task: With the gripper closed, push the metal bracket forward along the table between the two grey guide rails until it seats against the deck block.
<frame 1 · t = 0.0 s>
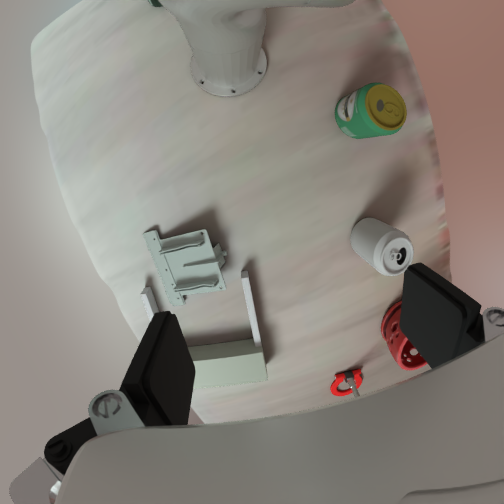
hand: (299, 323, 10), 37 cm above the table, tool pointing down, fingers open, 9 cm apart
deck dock: (204, 318, 52), on the table
can: (366, 235, 48), on the table
tow hook: (345, 381, 60), on the table
metal bracket: (189, 260, 49), on the table
plant pot: (398, 316, 55), on the table
beverage can: (353, 117, 41), on the table
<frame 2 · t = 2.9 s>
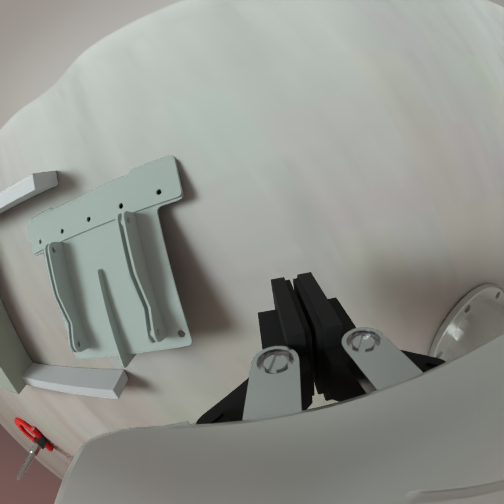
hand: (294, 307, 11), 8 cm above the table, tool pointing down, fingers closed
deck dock: (29, 295, 20), on the table
tow hook: (32, 431, 30), on the table
metal bracket: (116, 265, 20), on the table
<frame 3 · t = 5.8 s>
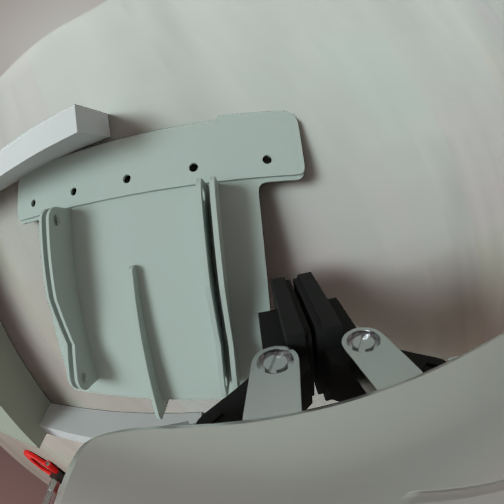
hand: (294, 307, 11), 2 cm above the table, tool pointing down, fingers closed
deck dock: (46, 319, 13), on the table
tow hook: (46, 463, 23), on the table
metal bracket: (152, 259, 13), on the table, touching gripper
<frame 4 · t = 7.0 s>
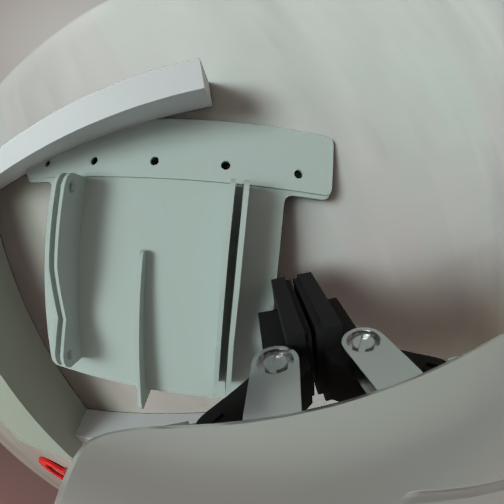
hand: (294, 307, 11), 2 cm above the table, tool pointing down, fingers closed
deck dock: (99, 313, 13), on the table
tow hook: (63, 470, 23), on the table
metal bracket: (159, 246, 13), on the table, touching gripper
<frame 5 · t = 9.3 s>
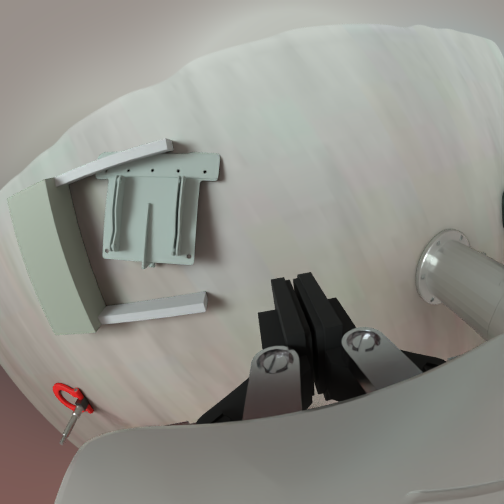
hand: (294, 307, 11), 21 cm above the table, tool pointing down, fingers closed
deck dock: (124, 238, 31), on the table
tow hook: (72, 396, 41), on the table
metal bracket: (154, 205, 31), on the table, touching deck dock
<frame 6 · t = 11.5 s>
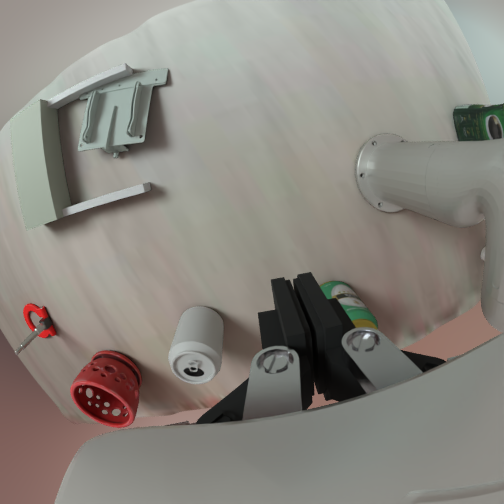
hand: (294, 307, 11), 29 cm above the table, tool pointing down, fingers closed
pipe fitting: (483, 252, 44), on the table
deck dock: (92, 142, 34), on the table
can: (202, 321, 45), on the table
tow hook: (39, 319, 44), on the table
metal bracket: (121, 112, 34), on the table
plant pot: (119, 366, 48), on the table
beverage can: (329, 299, 45), on the table
coffee jar: (464, 128, 35), on the table
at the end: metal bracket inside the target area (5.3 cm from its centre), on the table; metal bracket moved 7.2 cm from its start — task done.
